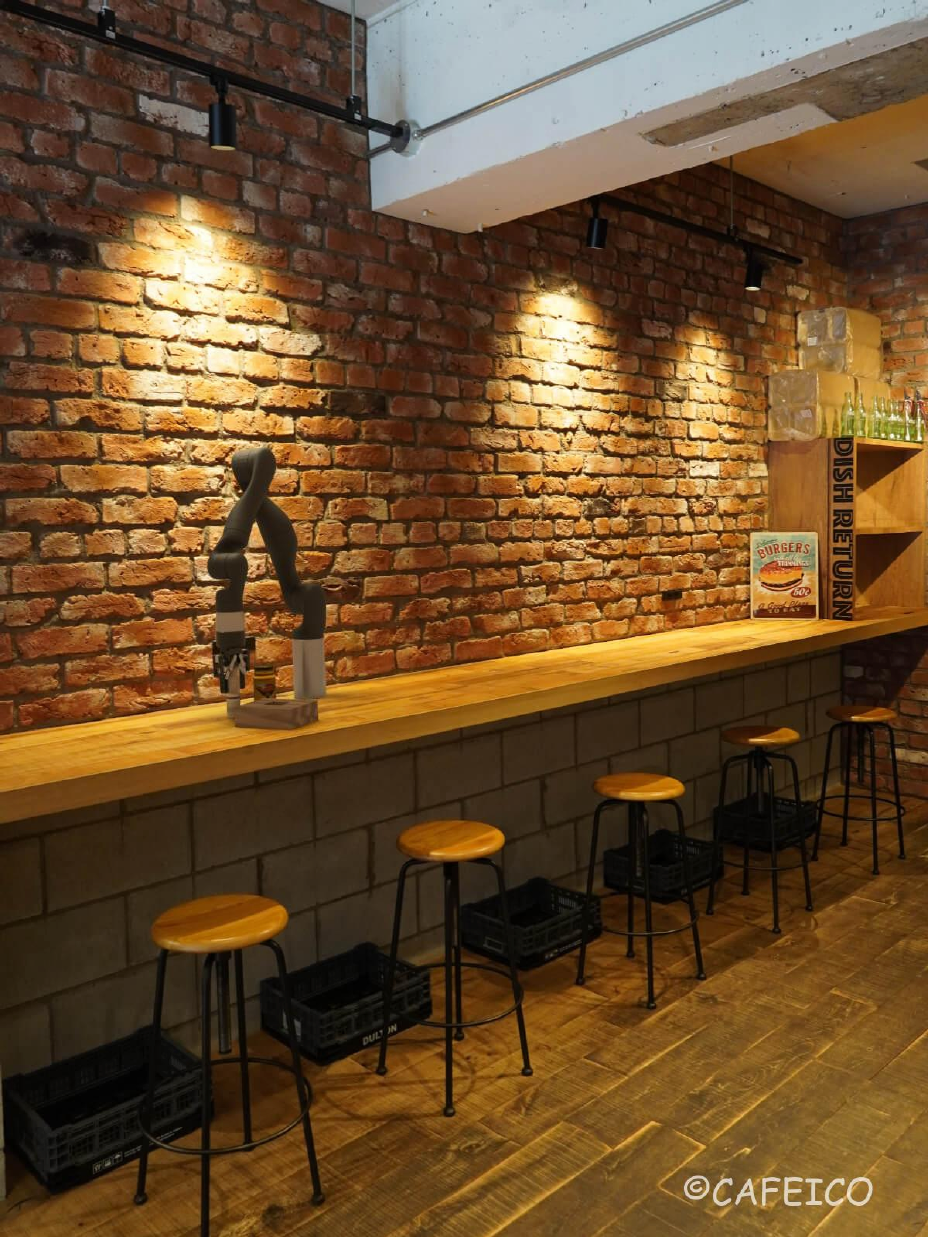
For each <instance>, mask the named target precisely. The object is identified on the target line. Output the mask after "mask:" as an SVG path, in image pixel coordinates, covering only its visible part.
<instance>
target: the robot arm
mask: <svg viewBox="0 0 928 1237" xmlns="http://www.w3.org/2000/svg"><path fill="white" fill-rule="evenodd" d="M230 461H231V462H230V464H231V471H232V474H233V476H234V478H235V481H236V482H237V485H238V486H239V488H240V490H241V493H242V495H241V497H240V498H239V499H238V500H237V502H236V503H235V504H234V505H233V507H232V508H231V510H229V513H228V515H227V517H226V521H225V524H224V528H223V531H222V534H221V537H220V539H219V540H218V541H217V543H216V544H215V546H214V548H213V549H212V551H211V553H210V554H209V556H208V559H207V562H206V571H207V573H208V575H209V577H211V579H213V580H217V581H218V580H219V581H222V580H223V581H229V584H228V586H227V587H226V588H221V589H219V590H217V591H216V592H215V597H214V598H215V599H214V600H215V624H214V625H215V641H216V642H215V643H216V645H215V646H216V647H217V648H218V649H220V650H219V651H220V652H219V654H213V655H212V667H213V668H212V669H213V670H212V671H213V677H214V678H216V679H218V680H219V692H220V694H222V695H224V694H225V695H226V694H227V693H229V679H228V677H229V673H230V672H231V671H232V669H233V668H234V667H239V678H240V690H244V689H246V675H247V672H250V670H251V661H250V660H251V659H250V654H251V652H250V648H243V647H245V646H246V645H247V644H246V643H247V642H246V623H245V622H246V619H245V614H244V598H243V597H244V593H245V592H244V591H245V587H246V582H247V578H248V574H249V562H248V559H247V557H246V556H245V555H244V554H243V553H242V552H240V551H242V550H245V549H246V548H247V547H248V544H249V541H250V538H251V534H252V530H253V526H254V523H255V522H256V525H257V528H258V530H259V534H260V537H261V539H262V541H263V544H264V546H265V548H266V550H267V553H268V555H269V557H270V561H271V563H272V565H273V570H274V572H275V574H276V577H277V580H278V584H279V587H280V591H281V594H282V598H283V602H284V604H285V607H286V609H287V610H288V611H289V613H291V614H293V615H297V616H298V615H299V616H302V622H301V623H300V624H299V625H298V626H296V627H294V628H293V629H292V630H291V643H292V644H291V645H292V670H293V672H292V675H293V698H295V699H299V700H314V699H319V698H320V699H321V698H325V697H326V696H327V674H326V673H327V672H326V671H327V670H326V669H327V668H326V665H327V664H326V662H325V659H326V658H325V634H324V633H325V630H326V627H327V596H326V592H325V590H324V588H323V587H322V585H320V584H317V583H303V582H302V580H301V578H300V575H299V573H298V571H297V566H296V558H297V554H298V547H299V541H298V536H297V533H296V531H295V528H294V525H293V523H292V521H291V519H290V517H289V516H288V515H287V514H286V513H285V511H283V509H281V507H279V506H278V505H277V504H276V503H275V502H274V501H273V500H272V499H270V497H269V496H268V495H267V493H268V490H269V488H270V486H271V484H272V482H273V481H274V480H273V479H274V477H275V474H276V471H277V460H276V456H275V454H274V452H273V451H272V450H271V449H270V448H268V447H264V446H263V447H254V448H248V449H247V448H246V449H242V450H237V451H236V452H234V453H233V454H232V456H231V460H230ZM218 670H219V671H218Z"/></svg>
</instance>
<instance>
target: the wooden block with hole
mask: <svg viewBox="0 0 928 1237" xmlns="http://www.w3.org/2000/svg"><path fill="white" fill-rule="evenodd" d="M234 714H235V718H234V727H235V728H254V729H270V730H271V729H273V730H294V729H297V728H300V727H302V726H305V725H308V724H310V723H312V722H315V721H318V720H319V700H318V699H317V700H316V699H299V698H295V699H294V698H276V699H275V698H262V699H259V700H256V701H254V700H253V701H250V702H247V703H243V704H241V705H239V706H236V707H234Z"/></svg>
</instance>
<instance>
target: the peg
mask: <svg viewBox="0 0 928 1237" xmlns="http://www.w3.org/2000/svg"><path fill="white" fill-rule="evenodd" d="M228 679H229V693H227V694H225V698H226V699H225V701H226V702H225V703H226V718H228V719H235V714H234V707H236V706H239V705H242V704H241V689H240V678H239V667H234V668H233V669H232V671H231V672H230V673H229V677H228Z"/></svg>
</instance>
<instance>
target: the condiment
mask: <svg viewBox="0 0 928 1237" xmlns="http://www.w3.org/2000/svg"><path fill="white" fill-rule="evenodd" d="M253 671H254V672H253V677H252V678H253V679H252V680H253V683H252V685H253V701H256V700H259V699H262V698H275V699H277V686H276V685H277V683H276V682H277V681H276V675H275V674H274V673H275V672H274V666H273V665H271V664H261V665H260V664H259V665H256V666H254V667H253Z"/></svg>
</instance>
